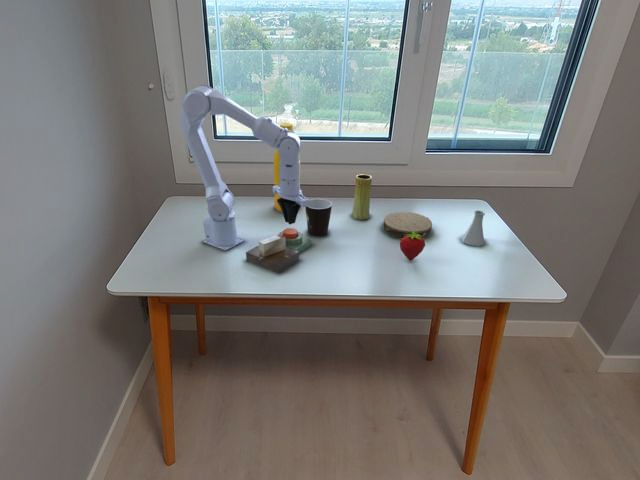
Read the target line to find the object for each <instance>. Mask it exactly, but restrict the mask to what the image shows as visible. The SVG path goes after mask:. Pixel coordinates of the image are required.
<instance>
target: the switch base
mask: <svg viewBox="0 0 640 480" xmlns="http://www.w3.org/2000/svg"><path fill="white" fill-rule="evenodd" d="M285 245H286V244H285ZM245 257H246V262H247V263H250V264H253V265H256V266H258V267H261V268H263V269H266V270H268V271H270V272H273V273H276V274H278V275H279V274H281V273H282V272H284V271H285V270H287V269H288V268H290V267H291V266H293V265H294V264H296V263H298V262H300V252H298V251H296V250H293V249H290V248H287V247H285V250H283V251H280V252H277V253H274V254H271V255H268V256H266V257H263V256H262V255H260V254H259V244H258V245H256V246H254V247H253V248H251V249H249V250H247V251H246V252H245Z"/></svg>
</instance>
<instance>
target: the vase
mask: <svg viewBox="0 0 640 480" xmlns="http://www.w3.org/2000/svg"><path fill="white" fill-rule="evenodd" d="M372 181H373V177H372V175H370V174H366V173H365V174H364V173H363V174H357V175H356V176H355V185H354V186H355V187H354V197H353V204H352V205H353V206H352V213H351V216H352V218H353V219H356V220H367V219H369V218H370V208H371V207H370V205H371V191H372V190H371V189H372Z"/></svg>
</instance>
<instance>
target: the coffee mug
mask: <svg viewBox="0 0 640 480" xmlns="http://www.w3.org/2000/svg"><path fill="white" fill-rule="evenodd" d="M332 207H333V202H332V201H330V200H328V199H325V198H311V199H308V206H307V207H304V209H305V217H306V227H307V234H308V235H309V236H311V237H315V238H321V237H325V236H326V235H328V232H329V226H330V220H331V215H332Z"/></svg>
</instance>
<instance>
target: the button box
mask: <svg viewBox="0 0 640 480" xmlns="http://www.w3.org/2000/svg"><path fill="white" fill-rule="evenodd" d="M297 231H298V230H297ZM278 234H281V235H283V230H282V231H281V232H279V233H278ZM285 244H286V245H285V247H287V248H290V249H293V250H296V251H298V252H299V253H301V252H302V251H303V250H305V249H307V248H309V247H310V246H312V239H309V238H306V237H303V233H302V232H301V231H298V236H297V238H293V239H287V238H285Z"/></svg>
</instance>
